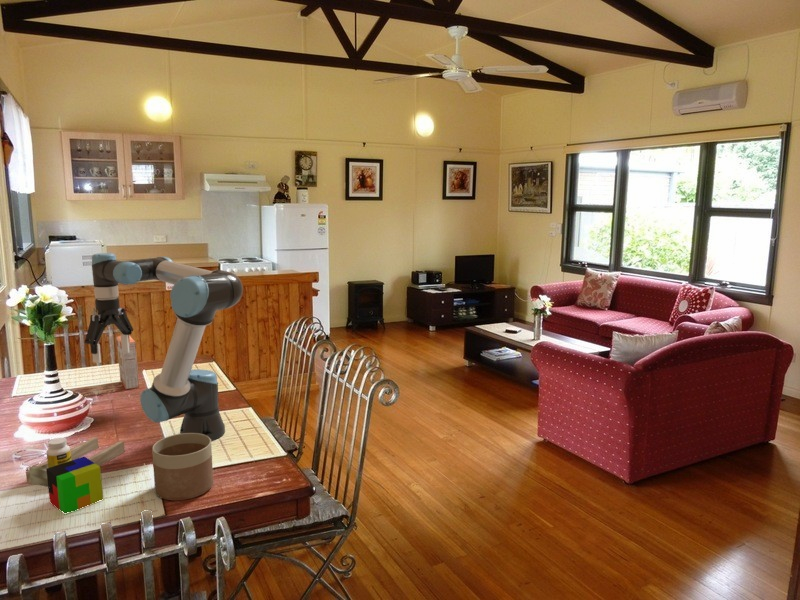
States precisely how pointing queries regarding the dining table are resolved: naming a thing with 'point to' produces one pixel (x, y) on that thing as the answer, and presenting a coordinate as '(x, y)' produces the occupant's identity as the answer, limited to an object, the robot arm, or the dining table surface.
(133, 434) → the dining table surface
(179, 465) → the planter
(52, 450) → the pill bottle
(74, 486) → the puzzle toy
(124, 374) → the cracker box
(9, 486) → the dining table surface
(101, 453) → the guide channel
